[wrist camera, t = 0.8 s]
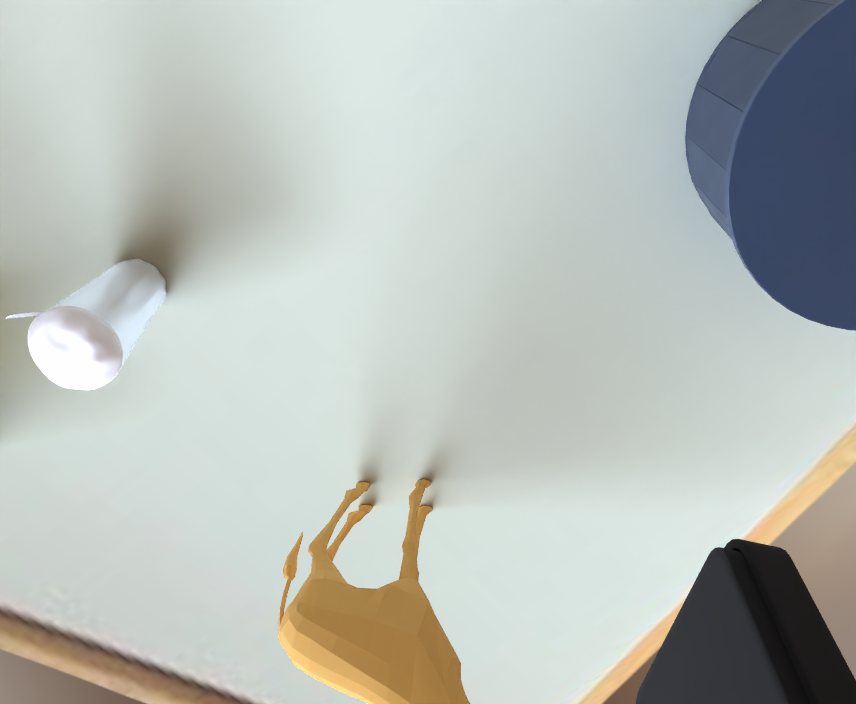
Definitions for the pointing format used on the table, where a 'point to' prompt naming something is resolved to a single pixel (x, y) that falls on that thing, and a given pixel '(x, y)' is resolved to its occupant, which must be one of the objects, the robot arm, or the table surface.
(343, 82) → the table surface
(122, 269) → the milkshake
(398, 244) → the table surface
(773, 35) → the blue cooking pot
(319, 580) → the giraffe
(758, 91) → the lid
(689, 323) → the table surface
